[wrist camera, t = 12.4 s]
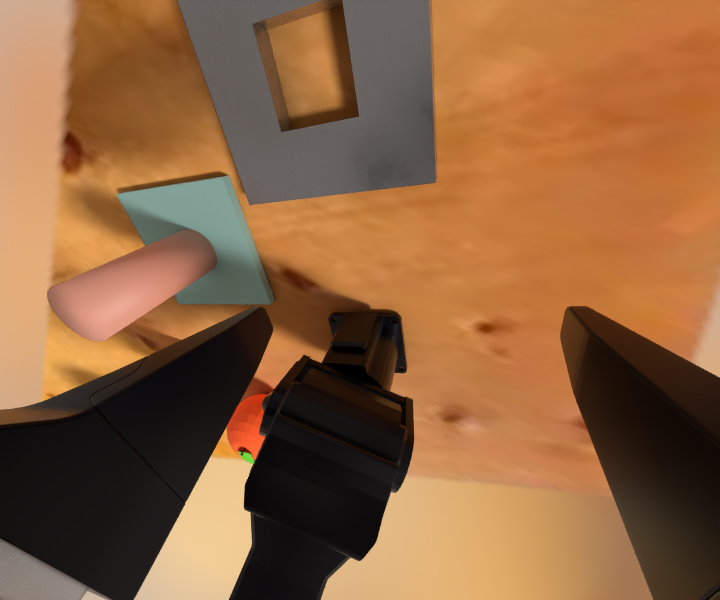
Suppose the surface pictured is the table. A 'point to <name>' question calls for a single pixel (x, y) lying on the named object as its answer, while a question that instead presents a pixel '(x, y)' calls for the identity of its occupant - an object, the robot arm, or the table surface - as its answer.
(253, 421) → the clementine
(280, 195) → the grey square hole plate
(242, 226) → the rubber mat
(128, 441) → the robot arm
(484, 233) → the table surface
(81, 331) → the pink rounded cylinder
